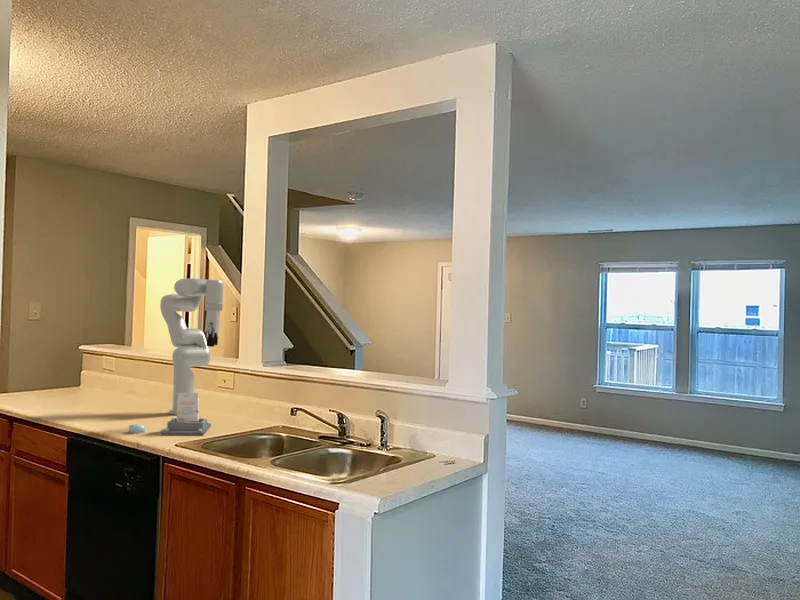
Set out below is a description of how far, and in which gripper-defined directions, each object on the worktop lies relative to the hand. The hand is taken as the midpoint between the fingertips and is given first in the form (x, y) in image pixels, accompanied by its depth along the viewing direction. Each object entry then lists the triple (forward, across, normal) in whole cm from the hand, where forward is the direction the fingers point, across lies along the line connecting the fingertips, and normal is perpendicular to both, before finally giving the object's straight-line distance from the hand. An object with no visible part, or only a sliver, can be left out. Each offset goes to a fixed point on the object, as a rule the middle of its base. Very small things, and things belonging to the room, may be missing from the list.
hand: (212, 345), depth 281 cm
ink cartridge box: (+33, +17, -6) cm, 38 cm away
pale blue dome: (+34, +22, -25) cm, 48 cm away
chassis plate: (+34, +18, -6) cm, 39 cm away
